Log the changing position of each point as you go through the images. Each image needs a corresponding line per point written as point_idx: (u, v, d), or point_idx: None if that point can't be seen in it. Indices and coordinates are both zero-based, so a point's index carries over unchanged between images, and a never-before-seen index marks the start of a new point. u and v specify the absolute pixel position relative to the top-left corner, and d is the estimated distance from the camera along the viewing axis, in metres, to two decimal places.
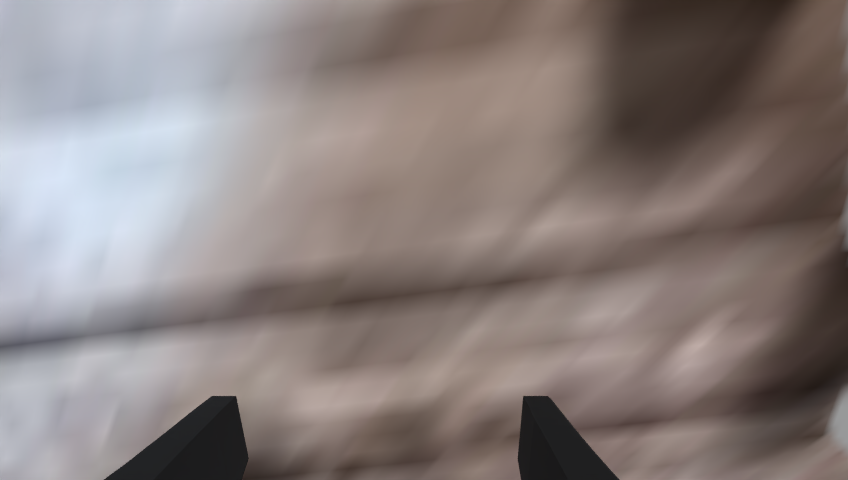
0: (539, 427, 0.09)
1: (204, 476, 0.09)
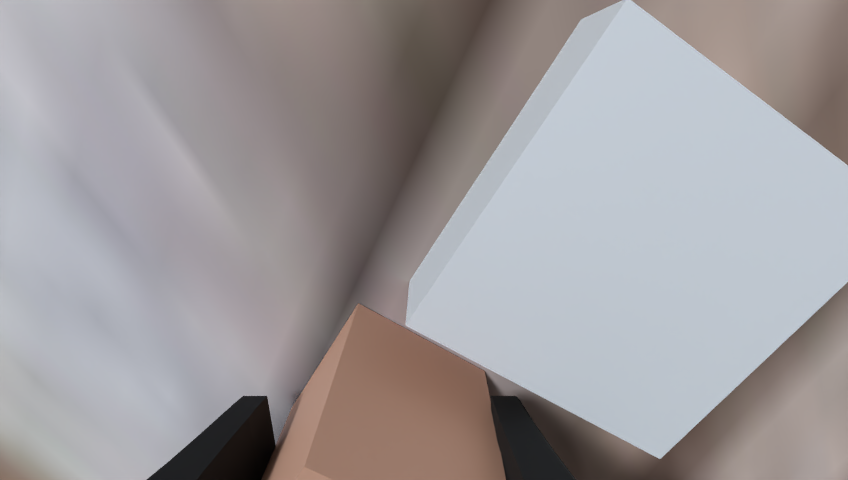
0: (502, 427, 0.09)
1: (239, 476, 0.09)
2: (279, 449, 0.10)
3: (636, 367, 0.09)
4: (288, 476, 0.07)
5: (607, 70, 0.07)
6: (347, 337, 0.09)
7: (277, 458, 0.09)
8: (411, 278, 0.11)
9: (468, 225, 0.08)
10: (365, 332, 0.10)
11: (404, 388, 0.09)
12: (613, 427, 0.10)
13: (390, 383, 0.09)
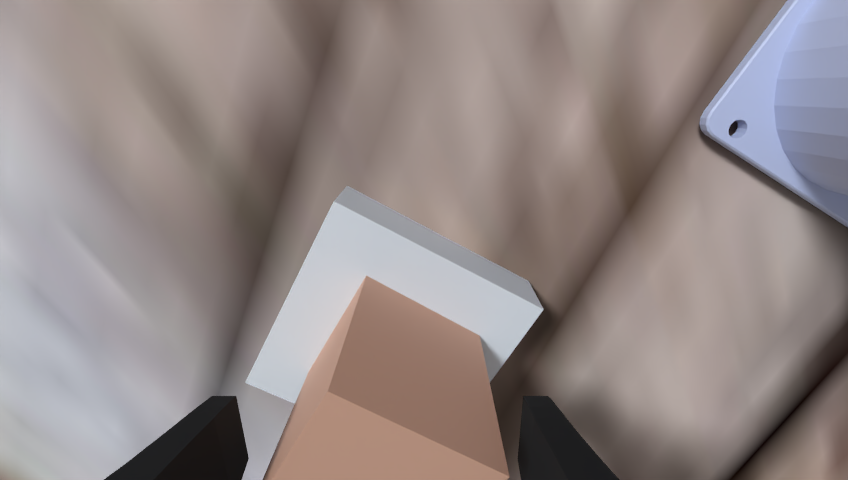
0: (539, 427, 0.09)
1: (204, 476, 0.09)
2: (300, 401, 0.11)
3: None
4: (313, 406, 0.08)
5: (332, 237, 0.12)
6: (358, 301, 0.11)
7: (299, 406, 0.10)
8: None
9: (276, 321, 0.13)
10: (373, 298, 0.11)
11: (408, 343, 0.10)
12: None
13: (395, 339, 0.10)
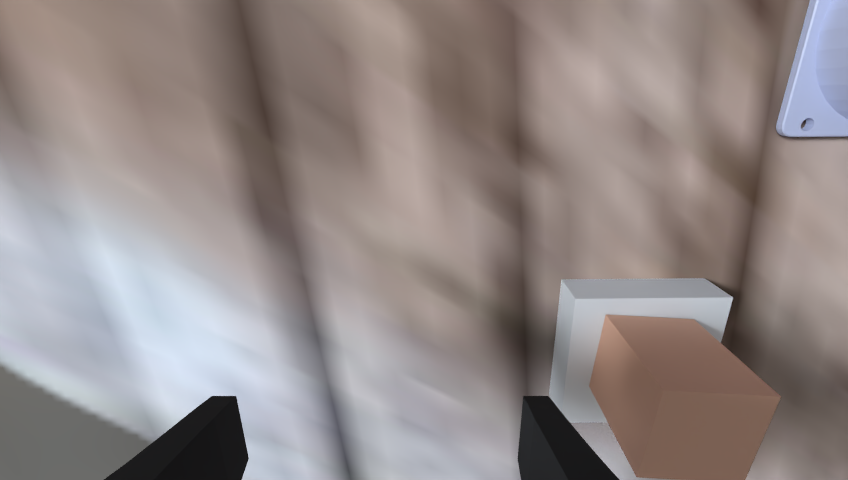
0: (539, 427, 0.09)
1: (204, 476, 0.09)
2: (611, 404, 0.18)
3: None
4: (650, 401, 0.15)
5: (582, 318, 0.19)
6: (620, 334, 0.17)
7: (617, 407, 0.17)
8: None
9: (563, 378, 0.20)
10: (624, 327, 0.18)
11: (667, 346, 0.17)
12: None
13: (659, 346, 0.16)
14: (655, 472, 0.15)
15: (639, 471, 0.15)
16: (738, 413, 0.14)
